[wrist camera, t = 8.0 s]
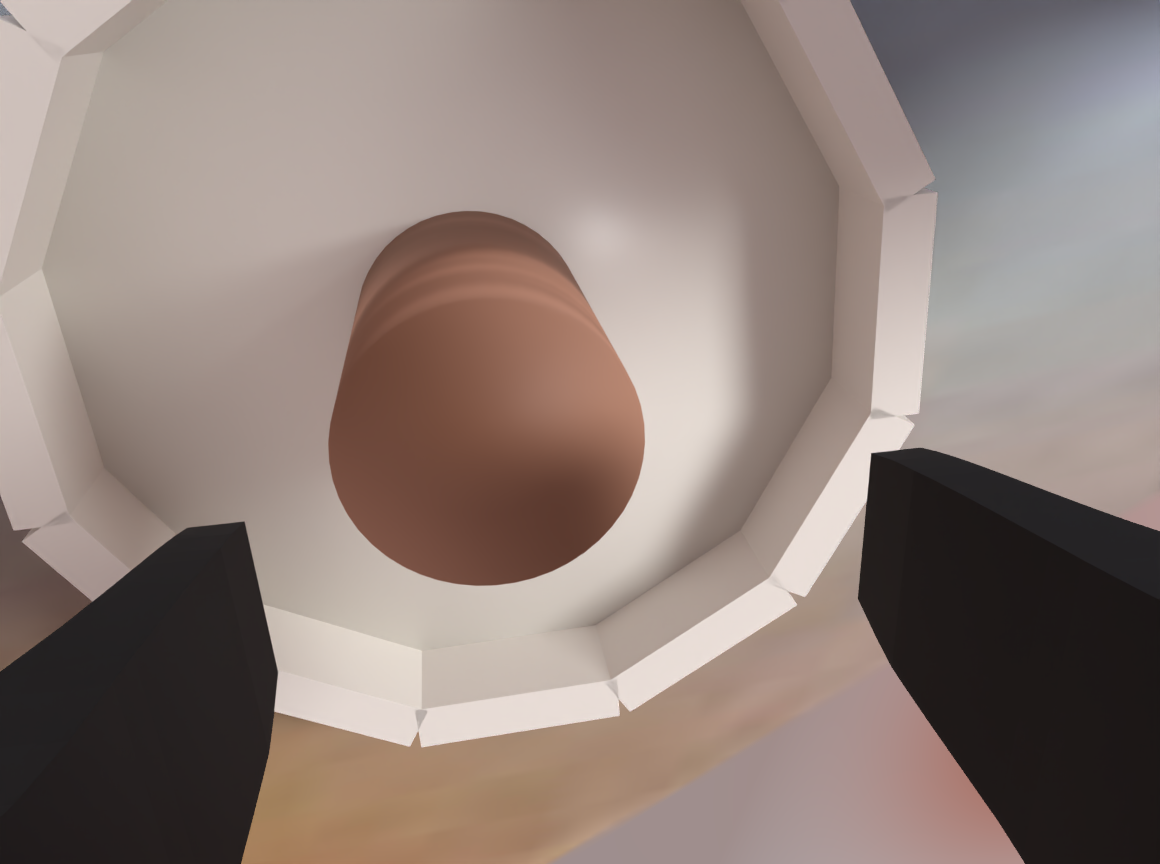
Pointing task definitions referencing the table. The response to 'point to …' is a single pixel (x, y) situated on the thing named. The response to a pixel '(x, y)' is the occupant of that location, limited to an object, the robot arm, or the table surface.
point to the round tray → (360, 233)
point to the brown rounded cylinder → (481, 407)
